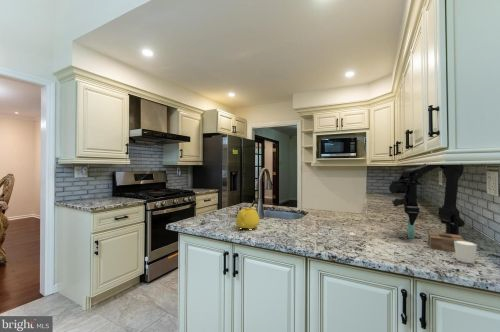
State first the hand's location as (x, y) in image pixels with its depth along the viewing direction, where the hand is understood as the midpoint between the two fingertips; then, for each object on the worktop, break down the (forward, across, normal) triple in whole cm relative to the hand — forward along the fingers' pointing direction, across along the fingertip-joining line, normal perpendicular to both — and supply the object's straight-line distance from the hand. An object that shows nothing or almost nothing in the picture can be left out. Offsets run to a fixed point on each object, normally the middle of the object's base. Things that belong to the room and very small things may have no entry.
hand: (411, 223), depth 126 cm
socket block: (+8, +9, +13) cm, 18 cm away
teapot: (+8, +25, -85) cm, 89 cm away
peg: (+8, 0, 0) cm, 8 cm away
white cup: (+8, +25, +17) cm, 31 cm away
